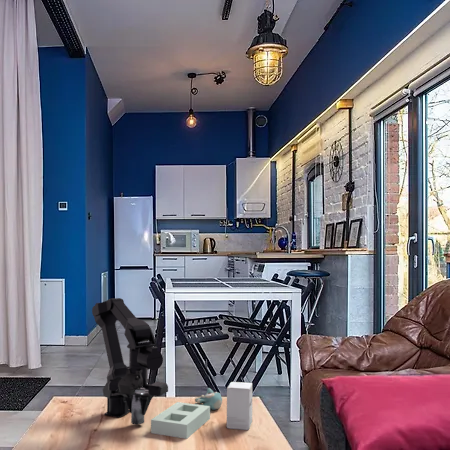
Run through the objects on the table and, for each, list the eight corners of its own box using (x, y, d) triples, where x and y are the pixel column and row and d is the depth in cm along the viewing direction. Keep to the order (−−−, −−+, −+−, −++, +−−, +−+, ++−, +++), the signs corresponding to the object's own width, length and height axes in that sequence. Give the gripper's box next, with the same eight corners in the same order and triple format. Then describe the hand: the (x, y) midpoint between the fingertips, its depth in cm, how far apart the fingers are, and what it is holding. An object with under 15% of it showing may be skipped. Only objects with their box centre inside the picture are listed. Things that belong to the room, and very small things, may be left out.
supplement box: (249, 430, 149) (249, 388, 149) (225, 428, 150) (226, 387, 151) (252, 422, 156) (253, 382, 156) (230, 420, 157) (230, 381, 158)
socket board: (150, 433, 146) (151, 419, 146) (177, 414, 163) (177, 402, 163) (186, 438, 142) (186, 424, 142) (210, 418, 159) (210, 406, 159)
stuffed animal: (207, 384, 179) (229, 385, 171) (209, 404, 178) (231, 406, 170) (184, 390, 172) (206, 391, 164) (186, 411, 171) (208, 413, 162)
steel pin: (128, 423, 151) (129, 394, 152) (135, 419, 155) (135, 390, 155) (139, 425, 150) (140, 395, 150) (146, 420, 153) (146, 392, 154)
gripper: (98, 367, 149) (97, 418, 148) (151, 372, 142) (151, 426, 142) (118, 359, 159) (117, 407, 159) (169, 364, 153) (168, 414, 152)
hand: (137, 414), depth 152 cm, fingers closed on steel pin, 4 cm apart
